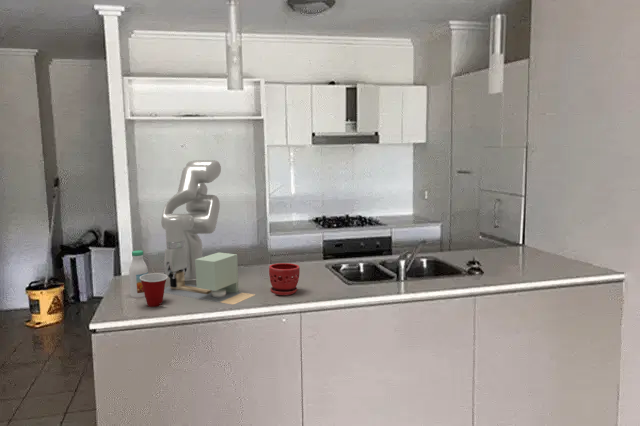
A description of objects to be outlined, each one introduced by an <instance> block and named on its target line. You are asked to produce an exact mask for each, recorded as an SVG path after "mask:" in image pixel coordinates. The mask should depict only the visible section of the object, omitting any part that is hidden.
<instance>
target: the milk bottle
mask: <svg viewBox="0 0 640 426" xmlns="http://www.w3.org/2000/svg"><path fill="white" fill-rule="evenodd" d="M131 258H132V261H131V263H130V266H129V275H128V277H129V288H130V289H129V292H130V293H129V294H130V297H131V298H145V294H144V290H143V285H142V282H141V280H140V276H142V275H145V274H149V270H148V266H147V264H146V262H145V260H144V250H141V249H140V250H139V249H138V250H133V251H131Z"/></svg>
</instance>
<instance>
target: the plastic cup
mask: <svg viewBox="0 0 640 426" xmlns="http://www.w3.org/2000/svg"><path fill="white" fill-rule="evenodd" d="M168 278H169V277H168V276H167V275H166V274H164V273H157V272H156V273H155V272H154V273H153V272H152V273H148V274H145V275H142V276H140V280H141V282H142V285H143V290H144V294H145V297H144V298H145V302H146V304H147V307H150V308H152V307H153V308H154V307H160V306H162V305H163V304H162V303H163V302H164V296H165V295H164V294H165V293H164V288H166V282H167V279H168Z"/></svg>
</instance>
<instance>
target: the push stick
mask: <svg viewBox="0 0 640 426" xmlns="http://www.w3.org/2000/svg"><path fill="white" fill-rule="evenodd" d="M172 275H173V273H172ZM175 278H176V284H177V287H171V286H170V285H169V286H170V287H171V289H176V290H179V289H180V290H185V291H191V292H197V293H203V294H208V293H211V292H212V290H208V289H201V288H197V287H191V286H185V284H186V282H185V281H186V280H185V277H184V272H182V271H176V274H175Z"/></svg>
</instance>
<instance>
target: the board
mask: <svg viewBox="0 0 640 426" xmlns="http://www.w3.org/2000/svg"><path fill="white" fill-rule="evenodd" d="M185 286H191V287H197V286H196V284H195V285H194V284H191V283H190V284H189V283H185ZM240 293H242V292H241V291H239V292H238V293H234V292H227V291H226V296H224V297H212V292H211V293H208V294H203V293H197V292H191V291H185V290H180V289H179V290H176V289H171V287H170V285H168V286H165V288H164V294H168V295H169V294H170V295H175V296H180V297H181V296H182V297H187V298H193V299H198V300H205V301H210V302H216V303H221V301H224V300H226V299H229V298H231V297H233V296H236V295H238V294H240Z"/></svg>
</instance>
